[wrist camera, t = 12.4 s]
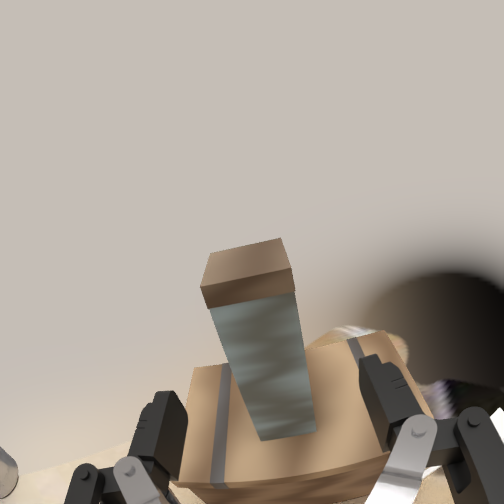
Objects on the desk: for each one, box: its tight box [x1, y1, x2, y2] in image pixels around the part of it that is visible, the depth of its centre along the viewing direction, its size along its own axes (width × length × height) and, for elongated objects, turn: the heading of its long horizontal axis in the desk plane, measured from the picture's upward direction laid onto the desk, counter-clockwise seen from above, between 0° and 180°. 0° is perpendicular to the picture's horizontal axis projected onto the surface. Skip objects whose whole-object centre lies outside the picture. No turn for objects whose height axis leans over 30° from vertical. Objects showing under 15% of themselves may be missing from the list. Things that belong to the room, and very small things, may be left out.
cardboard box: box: [171, 330, 434, 504], centre depth 19 cm, size 21×20×10 cm
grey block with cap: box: [200, 238, 317, 441], centre depth 17 cm, size 4×4×13 cm
